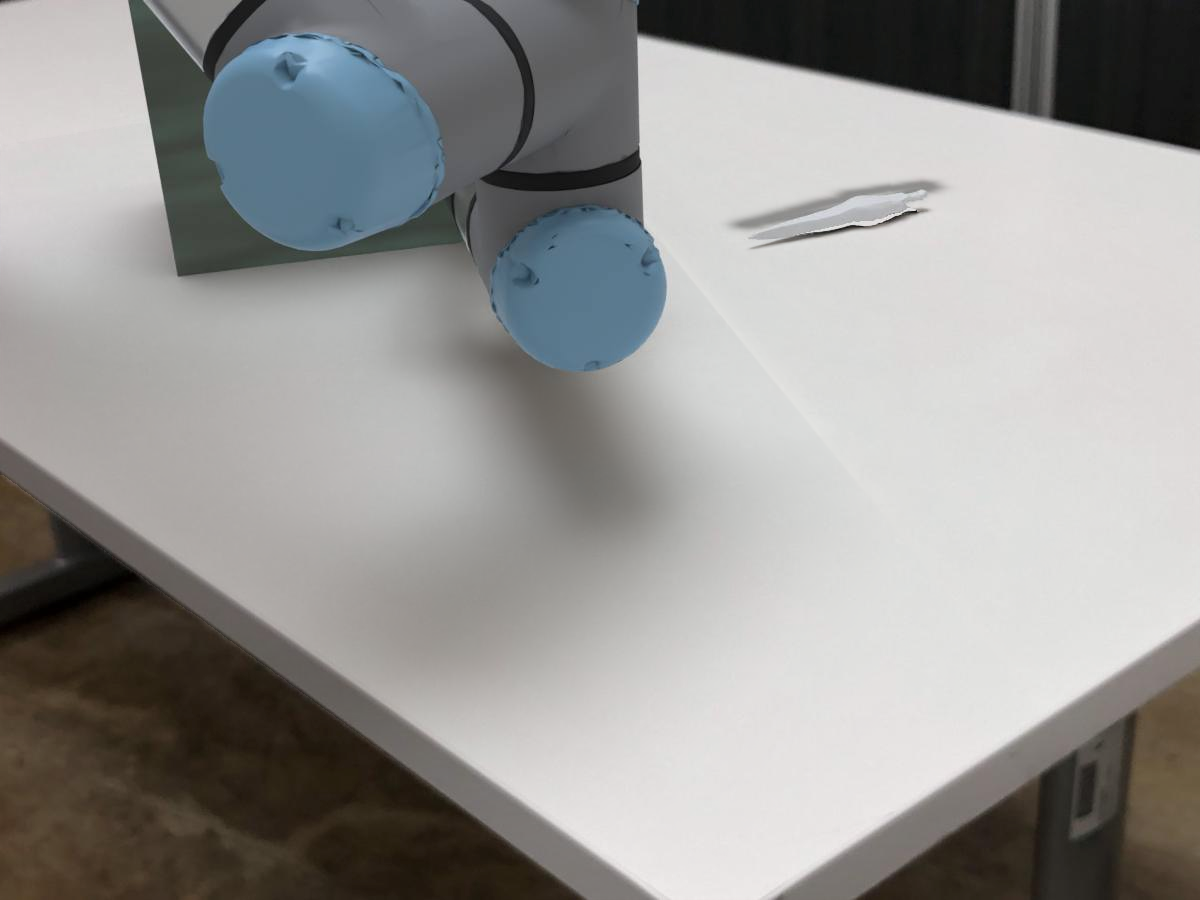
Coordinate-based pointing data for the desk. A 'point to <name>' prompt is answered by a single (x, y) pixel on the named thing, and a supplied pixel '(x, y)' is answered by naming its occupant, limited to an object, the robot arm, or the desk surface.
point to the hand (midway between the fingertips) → (457, 91)
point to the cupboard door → (192, 182)
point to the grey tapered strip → (843, 214)
